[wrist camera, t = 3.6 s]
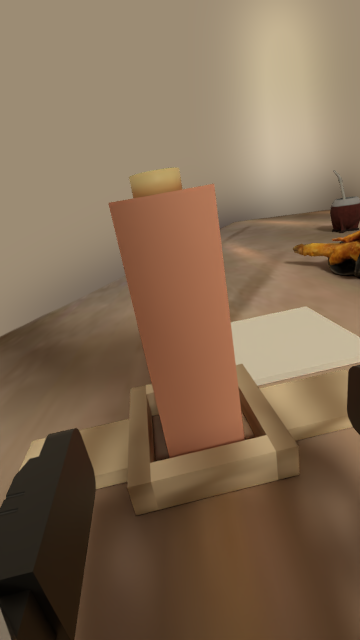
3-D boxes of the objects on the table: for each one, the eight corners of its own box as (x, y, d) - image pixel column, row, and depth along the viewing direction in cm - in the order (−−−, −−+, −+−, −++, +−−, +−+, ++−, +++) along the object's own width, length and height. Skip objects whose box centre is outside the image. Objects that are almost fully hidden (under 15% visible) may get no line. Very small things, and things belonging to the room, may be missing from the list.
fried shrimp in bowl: (415, 253, 34) (275, 214, 45) (387, 314, 43) (275, 269, 53) (447, 209, 37) (310, 181, 48) (415, 274, 46) (304, 239, 56)
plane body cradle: (-3, 550, 15) (-19, 523, 15) (46, 430, 24) (37, 409, 23) (421, 443, 17) (425, 414, 16) (327, 366, 25) (327, 344, 24)
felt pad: (241, 389, 24) (240, 382, 24) (207, 332, 35) (207, 327, 35) (382, 357, 25) (382, 350, 25) (306, 311, 36) (306, 306, 36)
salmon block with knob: (172, 471, 18) (102, 176, 12) (165, 421, 22) (110, 184, 16) (246, 453, 18) (210, 157, 13) (225, 408, 22) (192, 170, 17)
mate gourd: (355, 232, 75) (358, 165, 70) (322, 234, 81) (322, 172, 75) (364, 226, 80) (367, 163, 75) (332, 229, 85) (333, 170, 80)
